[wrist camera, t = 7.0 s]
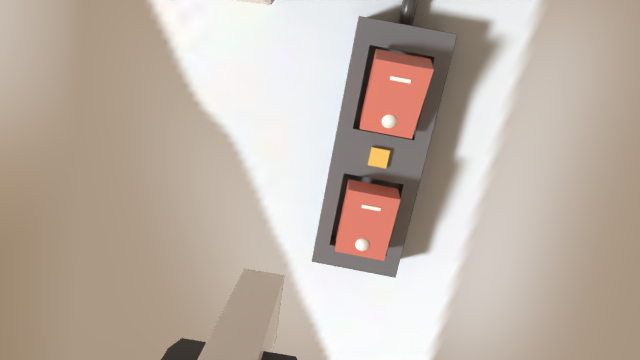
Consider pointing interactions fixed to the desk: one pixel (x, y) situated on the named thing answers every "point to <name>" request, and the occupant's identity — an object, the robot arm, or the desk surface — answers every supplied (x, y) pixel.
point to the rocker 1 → (395, 93)
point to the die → (258, 1)
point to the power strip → (381, 137)
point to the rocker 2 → (367, 219)
